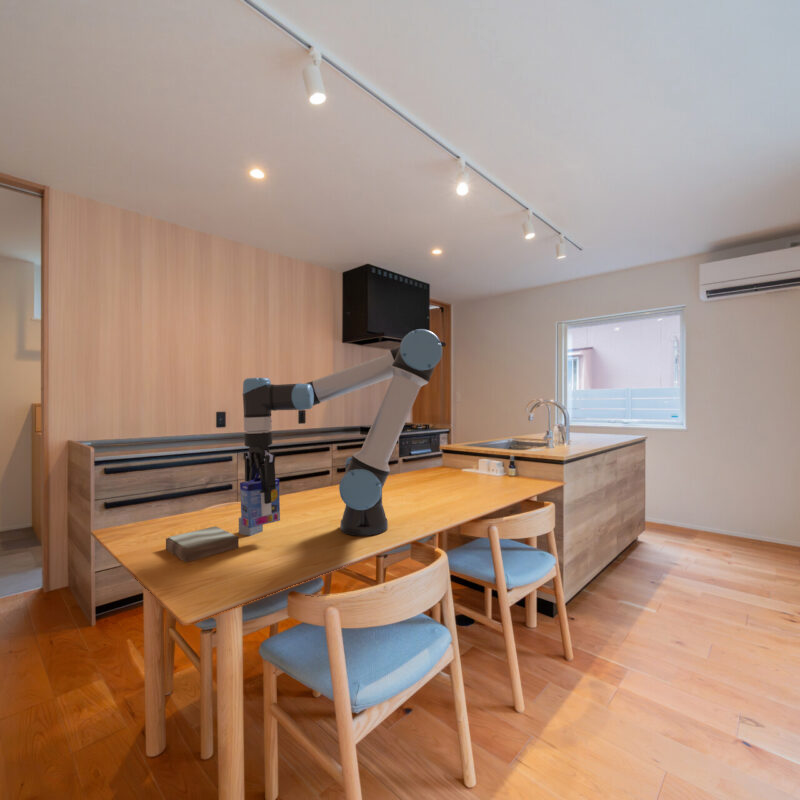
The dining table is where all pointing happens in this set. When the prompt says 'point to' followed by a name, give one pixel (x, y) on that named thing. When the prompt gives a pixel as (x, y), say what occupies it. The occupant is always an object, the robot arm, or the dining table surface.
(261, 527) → the slate block
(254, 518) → the ink cartridge box
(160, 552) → the dining table surface
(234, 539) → the podium
